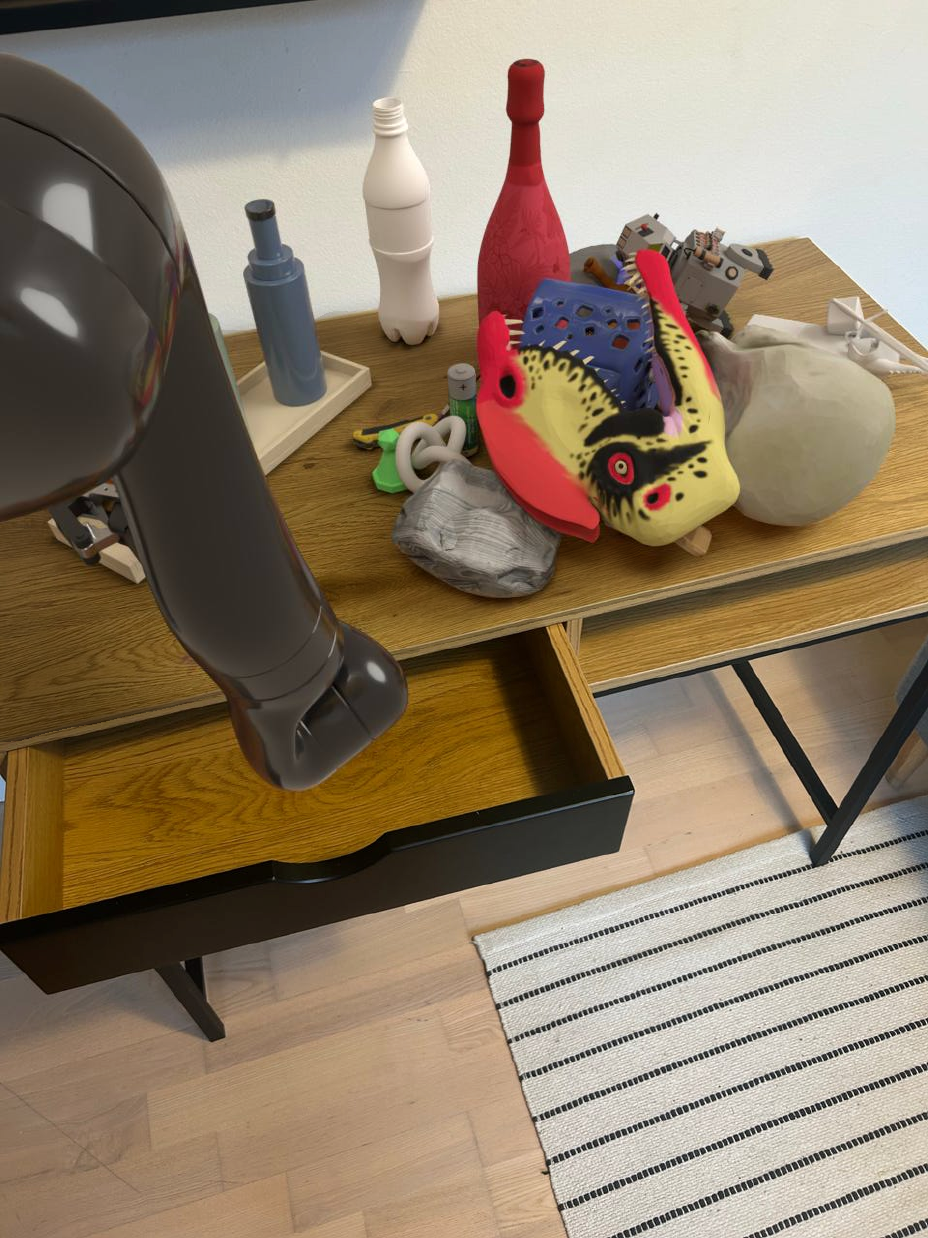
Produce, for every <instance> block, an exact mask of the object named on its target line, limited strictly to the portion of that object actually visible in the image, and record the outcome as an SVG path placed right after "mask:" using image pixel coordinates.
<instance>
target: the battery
mask: <svg viewBox="0 0 928 1238" xmlns="http://www.w3.org/2000/svg"><path fill="white" fill-rule="evenodd" d="M476 376H477V374H476V369H475V367H474V366H472V365H470V364H469V363H456V364H453V365H451V366H450V367H449V368H448V369H447V387H448V388H447V389H448V403H450V416H458V417H460V418H461V419H462V420H463V421H464V423H465V425H466V436H465V441H464V445H463V448H462V450H461V453H460V454H461V455H462V456H464V457H465V458H467V457H470V456H473V455H475V454H476V453H477V452H478V451H479V434H478V433H479V432H478V429H479V428H478V417H477V412H476V406H477V382H476Z"/></svg>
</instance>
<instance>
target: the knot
mask: <svg viewBox="0 0 928 1238" xmlns="http://www.w3.org/2000/svg"><path fill="white" fill-rule="evenodd" d="M448 434H450V435H449V438H448V442H447V443H445V441H444V439H443V438H444V437H445V436H447V435H448ZM465 436H466V425H465V423H464V421H463V420H462V419H461V418H460V417H458V416H449V417H446V418H444V419H442V420H441V421H439V422H438V423H437V424H436V425H434V426H433V427H432V426H430V425H429V424H427V423H424V422H414V423H411V424H409V425H408V426H407V427H405V428H404V430H403V431H402V432H401V434H400V436H399V438H398V441H397V444H396V451H395V461H396V467H397V471H398V474H399V477H400V479H401V481H402V482H403V484H404V485H405V486H406V487H407V488H408V489H407V490H409V491H410V492H412V494H414V493H415V492H416V491H417V490H418V488H420V487H421V486H422V485H423V484H424V483H425V482H426V481H427V480H429V479H430V478H431V477H433V476H434V475H436V474H437V473H438V472H439V471H440V470H441V468H442V467H443V466H444V465H445V464H446V463H447V462H448V461H449V460H451V459H459V460H462V461H464V462H466V463H468V464H470V465H472V466H474V465H473V464H472V462H470V460H469V459H467V457H464V456H462V455H461V454H460V453H461V450H462V448H463V445H464V441H465ZM418 437H420V441H419V442H418V443H417V445H416V447H415V448H414V450H413V451H412V449H413V444H414V442H415V441H416V440H415V439H416V438H418ZM411 452H412V453H411ZM434 462H438V466H437V467H436V469H435V470H434V472H433V473H432V474H431V475H430V477H428V478H426V479H421V478H419V477H418V476H417V474H416V472H415V473H414V471H415V470H414V471H413V469H416V470H422V469H425V468H426V467H427V466H429V465H431V464H432V463H434ZM412 467H413V469H412ZM415 474H416V475H415Z"/></svg>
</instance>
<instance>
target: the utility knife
mask: <svg viewBox="0 0 928 1238" xmlns="http://www.w3.org/2000/svg"><path fill="white" fill-rule="evenodd" d="M440 414H441V413H440ZM440 414H436V413H434V412H433V413H428V414H425V415H422V416H418V417H415V418H412V419H403V420H399V421H396V422H393V423H389V424H384V425H379V426H375V427H374V426H373V427H367V428H363V429H357V430H354V431H353V433H352V439H353V444H354V445H356V447H357V448H360V449H364V450H365V449H366V450H373V449H374V448H376V447H380V446H379V445H378V438H379V431H383V430H387V429H392V428H393V429H394V430H395V431H396V432H397V433H398V434H399V435H400V434H401V432H402V431H403V430H404V428H405V427H407V426H408V425H409V424H411V423H414V422H424V423H427V424H429V425H430V426H432V427H433V423H434V422H435V421H436V419H437V418H438V417H439V416H440ZM449 416H450V412H449V413H448V414H447V415H446V416H445V417H444V418H446V417H449ZM444 418H443V419H444ZM417 440H421V438H420V437H418V438H416V439H415V441H417Z"/></svg>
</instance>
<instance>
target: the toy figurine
mask: <svg viewBox="0 0 928 1238" xmlns="http://www.w3.org/2000/svg"><path fill="white" fill-rule="evenodd" d="M587 267H588V268H587ZM583 271H584V272H585V273H587V274H592V275H593V276H594V277H595V278H596V279H598V280H601V282H602V284H603V285H604V286H605V287H606V288H608V289H612V290H617V291H622V292H626V293H631V294H636V295H638V294H637V293H638V292H637V291H636V290H635V289H634V287H632V288H630V289H629V287H630V286H631V285H630V284H627V283H623V284H616V283H615V282H614V281H613V280H612V279H611V277H609V276H608V275H606V273H605V271H604V270H603V269H602V268H601V267H600V266H599V264H598V261H597V260H596V259H595V258H593V257H590V258H588V259H587V261H586V262H585V263H584V269H583ZM628 289H629V290H628ZM616 325H617V323H615V322H614V323H610V324H608V326H609V327H610V328H614V327H615V326H616Z"/></svg>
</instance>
